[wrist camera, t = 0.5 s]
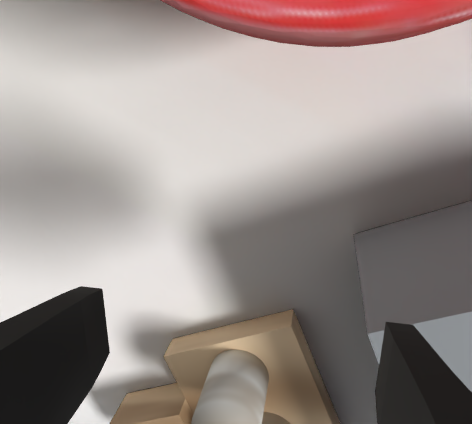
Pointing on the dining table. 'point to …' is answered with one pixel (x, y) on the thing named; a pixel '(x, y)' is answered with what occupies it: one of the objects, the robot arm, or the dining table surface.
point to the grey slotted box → (422, 282)
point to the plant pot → (328, 19)
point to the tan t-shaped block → (237, 379)
